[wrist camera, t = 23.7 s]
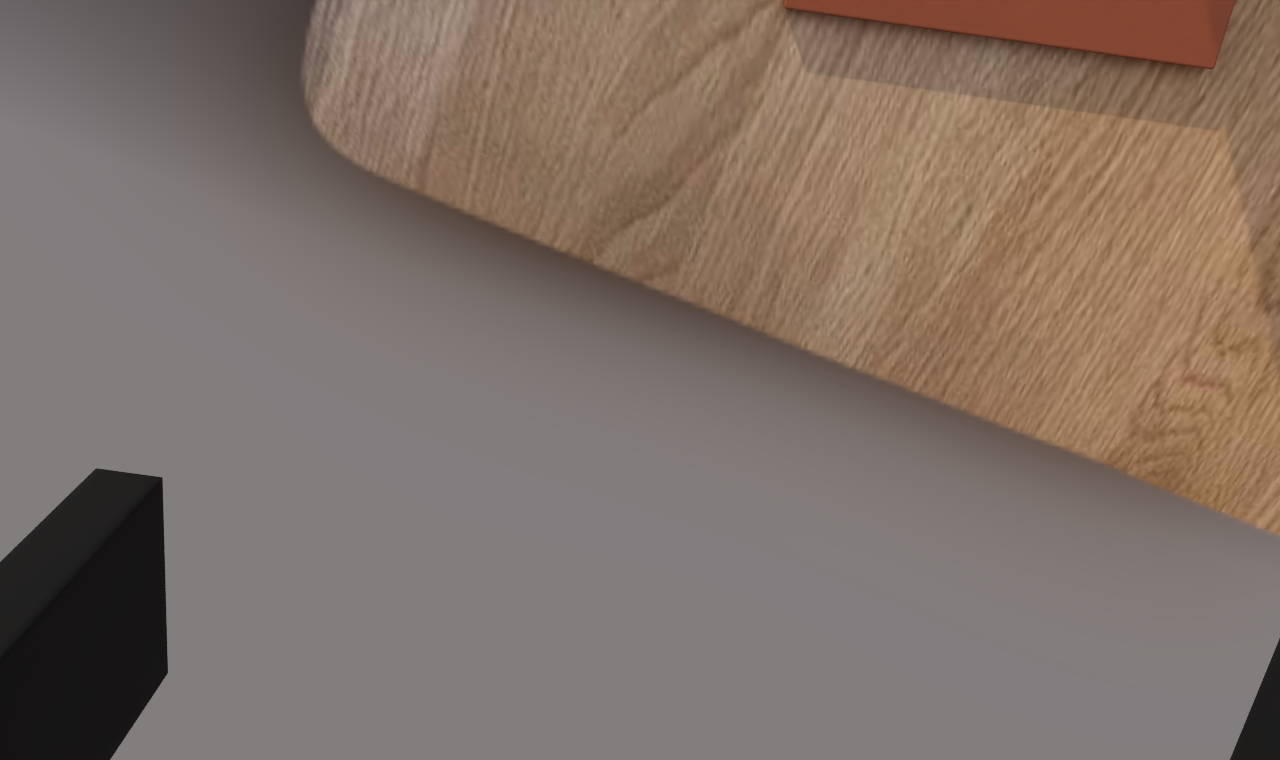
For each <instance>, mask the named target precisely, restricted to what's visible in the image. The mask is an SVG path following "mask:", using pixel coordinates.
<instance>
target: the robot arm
mask: <svg viewBox="0 0 1280 760" xmlns="http://www.w3.org/2000/svg"><path fill="white" fill-rule="evenodd" d="M163 522H164V521H163V485H162V477H155V476H148V475H140V474H132V473H125V472H118V471H111V470H104V469H95V470H94V471H93V472H92V473H91V474H90V475H89V476H88V477H87V478H86V479H85V480H84V481H83V482H82V483H81V484H80V485H79V486H78V487H77V488H76V489H75V490H74V491H73V492H71V493H70V494H69V495H68V496H67V497H66V498H65V499H64V500H63V501H62V502H61V503H60V504H59V505H58V506H57V507H56V508H55V509H54V510H53V511H52V512H51V513H50V514H49V515H48V516H47V517H46V518H45V519H44V520H43V521H42V522H41V523H40V524H39V525H38V526H37V527H36V528H35V529H34V530H33V531H32V532H31V533H30V534H29V535H28V536H26V537H25V538H24V539H23V541H21V542H20V543H19V544H18V545H17V546H16V547H15V548H14V549H13V550H12V551H11V552H10V553H9V554H8V555H7V556H6V557H5V558H4V559H3V560H2V561H1V562H0V760H110V759H111V757H112V756H113V754H114V753H115V751H116V750H117V748H118V747H119V745H120V744H121V742H122V741H123V739H124V738H125V736H126V735H127V733H128V732H129V730H130V729H131V727H132V726H133V724H134V723H135V721H136V720H137V718H138V717H139V715H140V714H141V712H142V711H143V709H144V708H145V706H146V705H147V703H148V702H149V700H150V699H151V697H152V696H153V694H154V693H155V691H156V690H157V688H158V687H159V685H160V684H161V682H162V681H163V679H164V678H165V676H166V675H167V673H168V662H167V627H166V593H165V557H164V523H163ZM1230 760H1280V639H1279V642H1278V645H1277V647H1276V649H1275V652H1274V654H1273V657H1272V659H1271V661H1270V664H1269V666H1268V669H1267V671H1266V673H1265V676H1264V678H1263V681H1262V683H1261V686H1260V688H1259V690H1258V693H1257V695H1256V698H1255V700H1254V703H1253V705H1252V708H1251V710H1250V712H1249V715H1248V717H1247V720H1246V723H1245V725H1244V728H1243V730H1242V732H1241V734H1240V737H1239V739H1238V742H1237V744H1236V746H1235V749H1234V751H1233V754H1232V756H1231V759H1230Z"/></svg>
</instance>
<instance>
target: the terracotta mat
mask: <svg viewBox="0 0 1280 760" xmlns="http://www.w3.org/2000/svg"><path fill="white" fill-rule="evenodd" d="M1234 3H1235V0H784V3H783V5H784V7H785V8H786V9H793V10H800V11H807V12H814V13H821V14H828V15H835V16H842V17H849V18H856V19H863V20H870V21H877V22H884V23H891V24H898V25H905V26H912V27H919V28H926V29H933V30H940V31H947V32H954V33H962V34H969V35H976V36H983V37H990V38H997V39H1004V40H1011V41H1018V42H1025V43H1032V44H1039V45H1046V46H1053V47H1060V48H1067V49H1074V50H1081V51H1088V52H1095V53H1102V54H1109V55H1116V56H1123V57H1130V58H1137V59H1144V60H1151V61H1158V62H1165V63H1172V64H1179V65H1186V66H1193V67H1200V68H1207V69H1213V68H1214V67H1215V64H1216V60H1217V57H1218V54H1219V51H1220V48H1221V44H1222V41H1223V38H1224V35H1225V32H1226V28H1227V25H1228V22H1229V19H1230V16H1231V13H1232V9H1233V6H1234Z"/></svg>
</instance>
